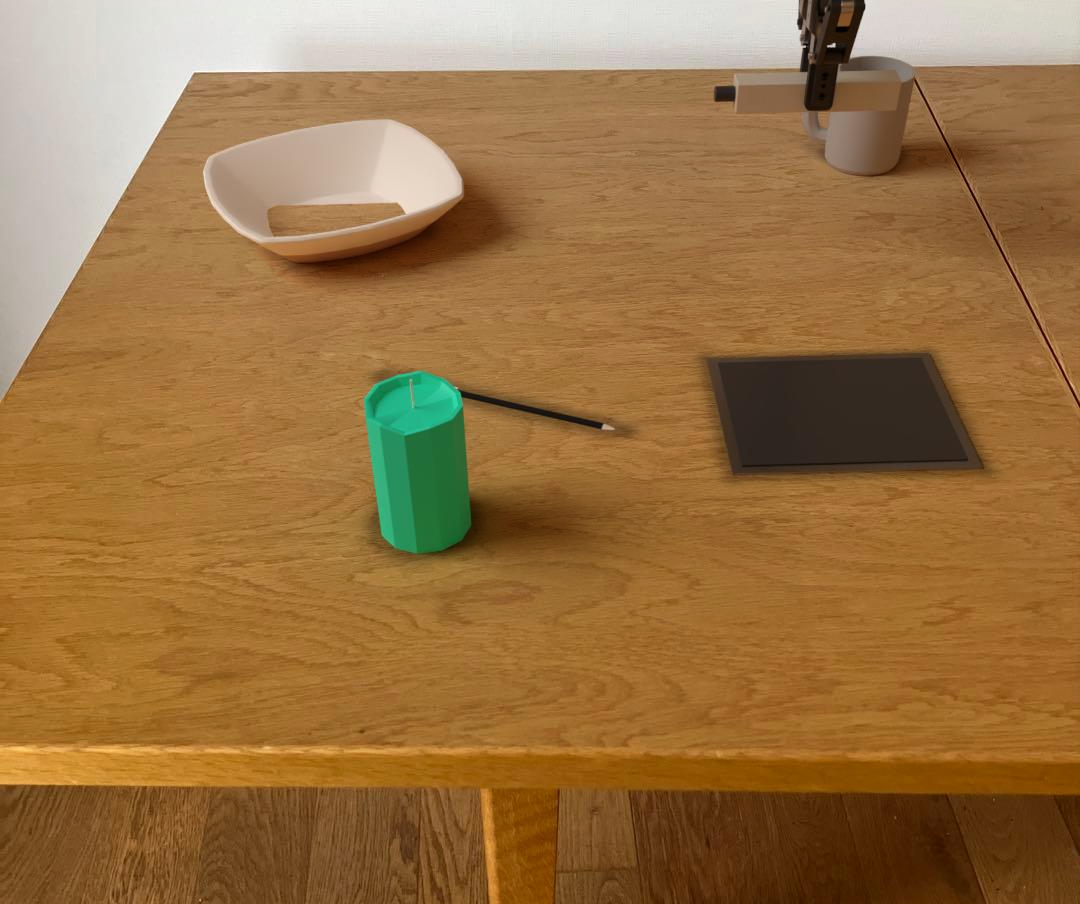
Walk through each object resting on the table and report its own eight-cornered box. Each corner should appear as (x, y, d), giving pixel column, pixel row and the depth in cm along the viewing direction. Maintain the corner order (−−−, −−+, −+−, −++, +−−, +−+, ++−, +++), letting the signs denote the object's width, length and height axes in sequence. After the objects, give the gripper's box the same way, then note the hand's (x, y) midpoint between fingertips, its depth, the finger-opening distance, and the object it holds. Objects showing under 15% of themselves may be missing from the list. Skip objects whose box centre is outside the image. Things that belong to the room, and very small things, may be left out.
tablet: (926, 363, 92) (929, 351, 91) (979, 478, 82) (983, 466, 81) (705, 369, 92) (706, 356, 91) (730, 485, 81) (732, 472, 81)
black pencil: (390, 381, 91) (388, 369, 90) (627, 436, 85) (628, 423, 85) (384, 387, 90) (383, 375, 90) (623, 443, 85) (624, 430, 84)
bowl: (408, 159, 120) (403, 107, 116) (495, 254, 105) (492, 198, 102) (194, 205, 113) (182, 151, 110) (255, 313, 99) (244, 256, 95)
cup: (893, 181, 115) (910, 88, 109) (789, 167, 117) (801, 76, 111) (902, 150, 120) (919, 60, 114) (802, 137, 122) (814, 49, 116)
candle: (390, 500, 81) (371, 349, 73) (478, 504, 80) (468, 353, 72) (372, 560, 76) (349, 407, 68) (465, 566, 76) (453, 412, 68)
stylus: (889, 99, 98) (895, 69, 97) (896, 110, 96) (902, 81, 95) (711, 102, 98) (714, 73, 97) (715, 114, 97) (717, 85, 95)
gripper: (923, -113, 80) (878, 136, 92) (878, -162, 91) (843, 68, 102) (811, -111, 80) (781, 138, 92) (779, -160, 91) (755, 70, 102)
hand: (814, 100), depth 97 cm, fingers closed on stylus, 2 cm apart
